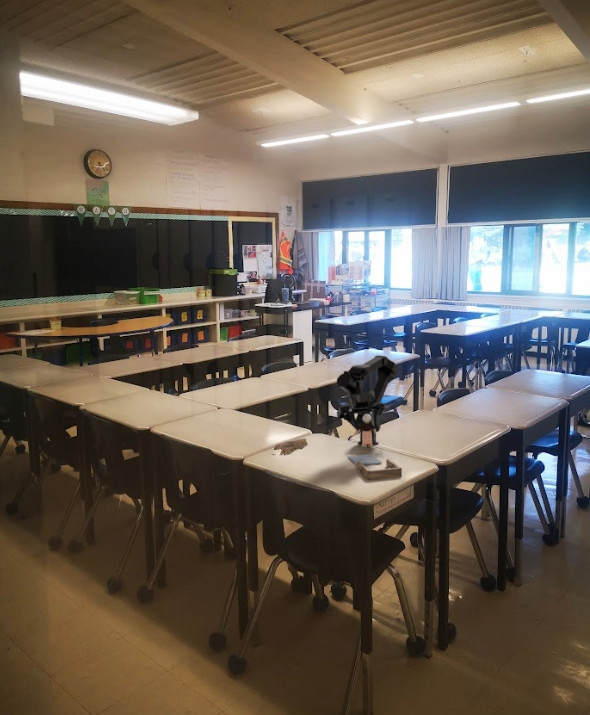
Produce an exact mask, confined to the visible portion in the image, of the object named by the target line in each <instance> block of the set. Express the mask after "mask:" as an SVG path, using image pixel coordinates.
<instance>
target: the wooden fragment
mask: <svg viewBox="0 0 590 715" xmlns="http://www.w3.org/2000/svg"><path fill="white" fill-rule="evenodd" d="M305 446H309V444H308V442H307V439H306V438H299V439H295V440H289V441H286V442H285V441H284V442H281V443H278V444H276V445H275V446H274V448H273V450H277V449H278V450H279V449H281V450H282V451H281V453H280V454H288V455H287V456H289V455H291V453H292V452H295V451H296V450H300V449H303V448H305Z"/></svg>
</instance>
